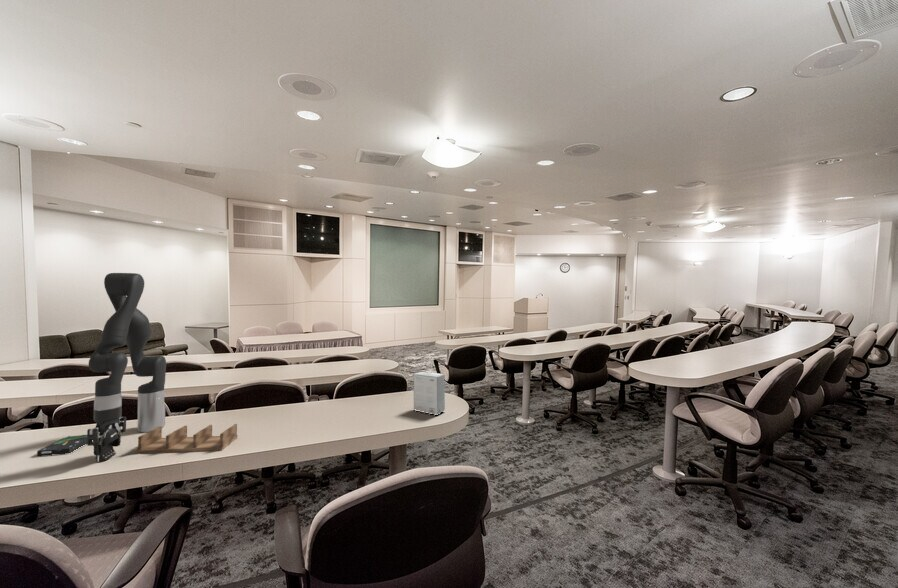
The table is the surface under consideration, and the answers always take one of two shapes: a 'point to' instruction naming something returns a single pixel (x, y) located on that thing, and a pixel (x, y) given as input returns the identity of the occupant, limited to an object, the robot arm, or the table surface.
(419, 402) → the hard drive box
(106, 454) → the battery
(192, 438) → the divider rack
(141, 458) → the table surface
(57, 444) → the disk drive
